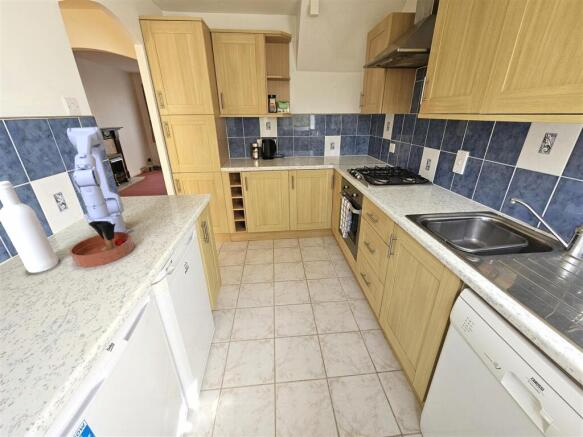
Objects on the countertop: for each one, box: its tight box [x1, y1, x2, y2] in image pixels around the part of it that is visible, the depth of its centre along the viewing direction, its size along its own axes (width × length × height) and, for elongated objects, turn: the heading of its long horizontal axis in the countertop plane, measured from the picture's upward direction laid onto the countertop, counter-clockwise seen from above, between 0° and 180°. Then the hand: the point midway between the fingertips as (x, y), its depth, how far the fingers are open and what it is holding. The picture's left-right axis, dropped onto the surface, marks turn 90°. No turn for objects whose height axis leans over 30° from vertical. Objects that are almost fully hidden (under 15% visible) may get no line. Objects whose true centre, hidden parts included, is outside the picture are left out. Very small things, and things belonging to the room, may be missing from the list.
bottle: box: [0, 180, 59, 274], centre depth 78 cm, size 8×8×30 cm
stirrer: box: [101, 231, 118, 252], centre depth 90 cm, size 6×6×8 cm
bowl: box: [68, 232, 135, 268], centre depth 89 cm, size 18×18×5 cm
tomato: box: [115, 239, 124, 246], centre depth 95 cm, size 3×3×3 cm
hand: (108, 238), depth 90 cm, fingers closed on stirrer, 2 cm apart
